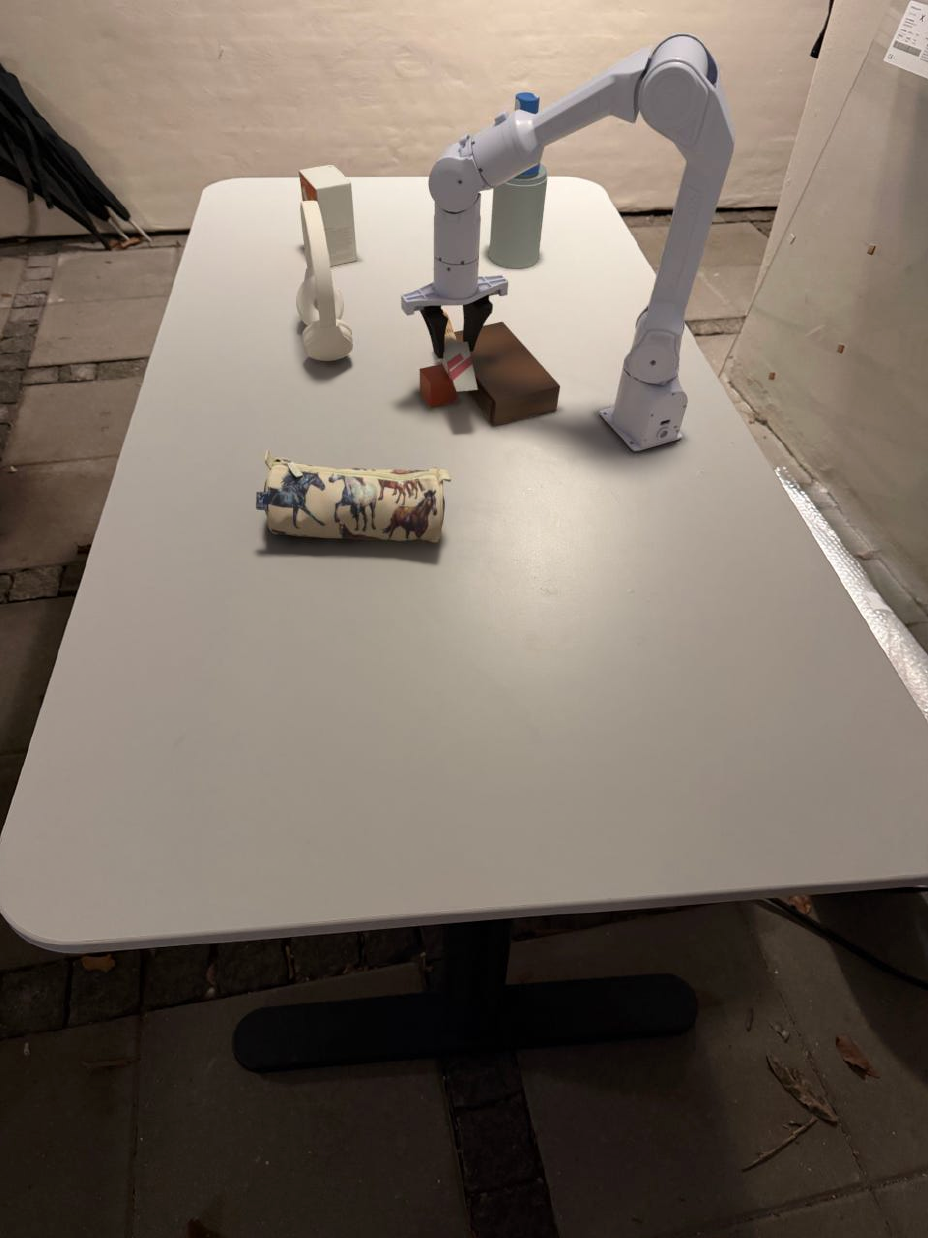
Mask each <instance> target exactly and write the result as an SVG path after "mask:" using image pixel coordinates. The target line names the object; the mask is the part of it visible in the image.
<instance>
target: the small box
mask: <svg viewBox="0 0 928 1238" xmlns="http://www.w3.org/2000/svg"><path fill="white" fill-rule="evenodd" d="M298 176H299V184H300V192H301V202H303V201H317V203H318V205H319V209H320V213H321V217H322V222H323V227H324V232H325V238H326V243H327V249H328V253H329V260H330V267H334V266H338V265H345V264H347V263H348V264H349V263H352V262H356V261H357V260H358V254H357V241H356V229H355V216H354V203H353V190H352V182H351V181H350V180H349V179H348V178H347V177H346V175H344V173H343V172H341V171H340V170H339V169H338V168H337V167H336V166H335V165H334V164H327V165H320V166H314V167H308V168H304V169H299V170H298Z"/></svg>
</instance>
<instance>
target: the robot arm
mask: <svg viewBox="0 0 928 1238" xmlns="http://www.w3.org/2000/svg"><path fill="white" fill-rule="evenodd" d="M653 47H654V44H650V45H647V46H645V47H643V48H640V49H639V50H637V51H635V52H633V53H631V54H630V55H628V56H625V58H623V59H621V60H620V61H618V62H616V63H614V64H613V65H611V66H609V67H608V68H606V69H605V70H603V71H601V72H600V73H598V74H597V75H595V76H594V77H592V78H591V79H589V80H587V81H586V82H584V83H583V84H581V85H579V86H578V87H576V88H574V89H573V90H572V91H570V92H568V93H567V94H565V95H564V96H562V97H561V98H559V99H557V100H556V101H554V102H552V103H550V104H549V105H548V106H546V107H545V108H543V109H540V111H538V113H537V114H532V113H529V112H526V111H523V110H516V111H515V110H514V111H513V112H511V113H509V110H508V109H507V108H505V109H503V110H501V111H499V112H498V113H497V114H496V116H495V117H494V123H492V124H490V125H489V126H487V127H485V128H484V129H482V130H480V131H479V132H477V133H475V134H473V135H471V136H470V134H469V133H466V134H464V135H462V136H461V137H460V138H459V140H458V141H456V142H453V143H451V144H450V145H449V146H448V147H446V148H445V150H444V151H443V152H442V154H441V156H440V157H439V158H438V159H437V161H436V162H435V163H434V165H433V166H432V168H431V170H430V173H429V176H428V183H427V184H428V192H429V194H430V196H431V198H432V201H434V214H433V281H432V282H430V283H428V284H426V285H424V286H421V287H419V288H417V289H414V290H412V291H409V292H407V293H402V294H400V300H401V301H400V305H401V310H402V312H403V313H404V314H405V315H406V316H412V315H415V312H418V311H419V313H420V314H421V317H422V319H423V321H424V323H425V325H426V328H427V331H428V333H429V337H430V340H431V344H432V350H433V353H434V355H435V356H436V357H437V359H439V360H442V358H443V352H445V342H444V340H445V331H446V326H447V323H448V319H447V318H446V317H445V315H444V314H443V312H444V309H443V308H442V306H462V313H463V326H462V330H463V342H468V346H469V350H470V352H473V351H474V348H475V344H476V341H477V339H478V336H479V333H480V331H481V329H482V327H483V326H484V325H485V323H486V321H487V320H488V319H489V317H490V316H491V315H492V313H493V310H494V304H493V302H492V301H491V300H490V297H492V296H497V295H498V296H499V297H505V296H508V292H509V280H508V279H507V278H506V277H505V276H504V275H503V274H497V275H487V276H486V275H479V266H480V245H481V226H482V225H481V223H482V222H481V220H482V215H481V207H482V205H481V204H482V203H481V202H482V193H481V192H484V191H491V190H493V188H495V187H497V186H499V185H501V184H502V183H504V182H506V181H508V180H510V179H512V178H514V177H515V176H517V175H519V174H521V173H523V172H525V171H527V170H528V169H530V168H532V167H534V166H536V165H538V164H539V163H540V164H541V161H542V157H543V154H544V152H545V148H546V147H547V146H549V145H551V144H553V143H556V142H557V141H559V140H562V139H563V138H566V137H568V136H571V135H572V134H574V133H576V132H577V131H581V130H582V129H584V128H586V127H589V126H591V125H593V124H594V123H596V122H598V121H601V120H603V119H605V118H607V117H610V116H613V117H615V118H617V119H620V120H622V121H624V122H627V123H630V124H636V122H637V119H638V115H639V113H640V115H641V118H642V119H643V122H645V123H646V125H647V126H649V128H651V129H652V130H654V131H655V132H656V133H658V134H659V135H661V136H663V137H664V138H666V139H667V140H669V141H670V142H672V143H673V144H674V146H675V147H676V149H677V150H678V151H679V153H680V154H681V156H682V157H683V159H684V160H685V165H684V169H683V172H682V176H681V180H680V184H679V186H678V187H679V188H678V191H677V194H676V199H675V203H674V206H673V210H672V215H671V218H670V222H669V226H668V228H667V229H668V230H667V233H666V237H665V241H664V245H663V248H662V253H661V256H660V260H659V264H658V268H657V272H656V275H655V279H654V283H653V287H652V290H651V293H650V297H649V300H648V303H647V305H646V306H645V308H643V310H642V311H641V312H640V313H639V314H638V316H637V318H636V321H635V331H634V335H633V340H632V345H631V347H630V350H629V352H628V353H627V354H626V356H625V357H624V359H623V364H622V369H621V372H620V373H621V374H620V378H619V382H618V387H617V392H616V395H615V401H614V405H613V406H611V407H607V408H603V409H601V410H599V416H600V417H601V418H602V419H603V420H604V421H605V422H606V423H607V424H608V426H610V428H611V429H612V430H613V431H614V432H615V433H616V434H617V435H618V436H619V437H620V438H621V439H622V441H624V443H625V444H626V445H627V446H628V448H629V449H631V450H632V451H633V452H640V451H643V450H647V449H650V448H653V447H656V446H660V445H664V444H667V443H671V442H674V441H678V440H681V439H682V438H683V434H682V433H681V432H680V430H681V427H682V423H683V419H684V417H685V413H686V410H687V407H688V402H689V401H688V400H689V399H688V395H687V393H686V391H684V389H683V387H682V386H681V383H680V379H679V371H680V352H681V346H682V340H683V335H684V332H685V326H686V323H685V315H686V310H687V306H688V303H689V299H690V296H691V294H692V290H693V287H694V283H695V280H696V277H697V273H698V270H699V266H700V263H701V259H702V257H703V254H704V251H705V247H706V244H707V240H708V236H709V233H710V230H711V228H712V223H713V220H714V217H715V213H716V211H717V207H718V204H719V200H720V198H721V194H722V191H723V188H724V184H725V180H726V177H727V175H728V171H729V167H730V165H731V160H732V157H733V153H734V149H735V143H736V132H735V131H736V130H735V126H734V123H733V119H732V116H731V115H732V114H731V112H730V108H729V105H728V101H727V100H728V99H727V97H726V93H725V90H724V85H723V82H722V76H721V71H720V65H719V62H718V60H717V59H716V58H715V56H714V55H713V54H712V52H711V51H710V49H709V48H708V47H707V46H706V44H705V43H704V42H703V41H702V40H701V38H699V37H698V36H697V35H694V34H692V33H689V32H677V33H672V34H670V35H668V36H667V37H665V38H664V39H662V40H661V41H660V42H659V43H658V44H657V46H656V47H655V48H654V49H653ZM652 49H653V51H652ZM651 52H652V53H651Z"/></svg>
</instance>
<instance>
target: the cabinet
mask: <svg viewBox="0 0 928 1238" xmlns="http://www.w3.org/2000/svg"><path fill="white" fill-rule="evenodd" d="M454 334H455V337H456V339H457V342H458V343H459V342H463V329H461V330H458V331H454ZM470 355H471V360H472V365H473V370H474V374H475V379H476V384H477V389H478V390H468V391H467V393H468V395H470V397H471V398H472V399H473V401H474V402H475V403H476V405H477V406H478V407H479V408H480V411H482V413H483V414H484V415H485V417H486V418H487V419H488V420H489V422H490V423H491V425H492V426H493V427H496V426H500V425H504V424H508V423H511V422H515V421H520V420H523V419H527V418H531V417H534V416H539V415H542V414H546V413H550V412H555V411H557V409H558V405H559V397H560V392H561V391H560V389H561V385H560V384H559V382H558V381H557V380H556V379H554V377H553V376H552V375H551V374H550V372H549V371H548V370H547V369H546V368H545V367H544V366H543V365H542V364H541V363H540V361H538V359H537V358H536V357H535V356H534V355H533V353H531V352H530V350H529V349H528V348H527V347H526V345H524V343H523V342H522V341H521V340H520V339H519V338H518V337H517V336H516V335H515V334H514V332H513V331H512V330H511V329H510V328H509V327H508V326H507V324H506V323H505V322H504V321H499V322H494V323H490V324H489V323H488V324H484V325H483V327H482V329H481V331H480V333H479V336H478V339H477V341H476V344H475V348H474V351H473V352H470Z"/></svg>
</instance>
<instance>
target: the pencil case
mask: <svg viewBox="0 0 928 1238" xmlns="http://www.w3.org/2000/svg"><path fill="white" fill-rule="evenodd" d="M264 463H265V465H266V466H267V468H268V473H267V476H266V479H265V481H264V482H265V483H264V486H263V491H256V497H255V498H256V499H255V500H256V501H255V509H256V510H258V511H264V513H265V515H266V522H267V523H266V524H267V527H268V529H269V531H270V532H271V533H272V534H273V535H285V536H286V535H289V536H293V537H298V538H299V537H300V538H320V539H321V538H322V539H348V540H363V541H369V540H382V541H383V540H384V541H391V540H392V541H397V542H403V541H416V540H421V541H428V542H431V543H437V542H438V541H439V539H440V538H441V535H442V529H443V525H444V519H445V513H446V512H445V511H446V501H445V496H444V481H445V482H448V483H451V482H452V476H451V473H450V472H449V471H448V469H443V468H438V467H431V468H429V469H427V470H419V469H413V470H411V469H410V470H406V469H396V468H395V469H394V468H393V469H392V468H391V469H390V468H389V469H373V468H359V467H351V468H335V467H326V466H325V467H324V466H321V465H312V464H305V463H299V462H298V463H297V462H294V461H292V460H291V459H290V458H287V457H285V456H284V457H275V458H273V456H272V454H271V453H270V450H269V449H266V451H265V455H264Z"/></svg>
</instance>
